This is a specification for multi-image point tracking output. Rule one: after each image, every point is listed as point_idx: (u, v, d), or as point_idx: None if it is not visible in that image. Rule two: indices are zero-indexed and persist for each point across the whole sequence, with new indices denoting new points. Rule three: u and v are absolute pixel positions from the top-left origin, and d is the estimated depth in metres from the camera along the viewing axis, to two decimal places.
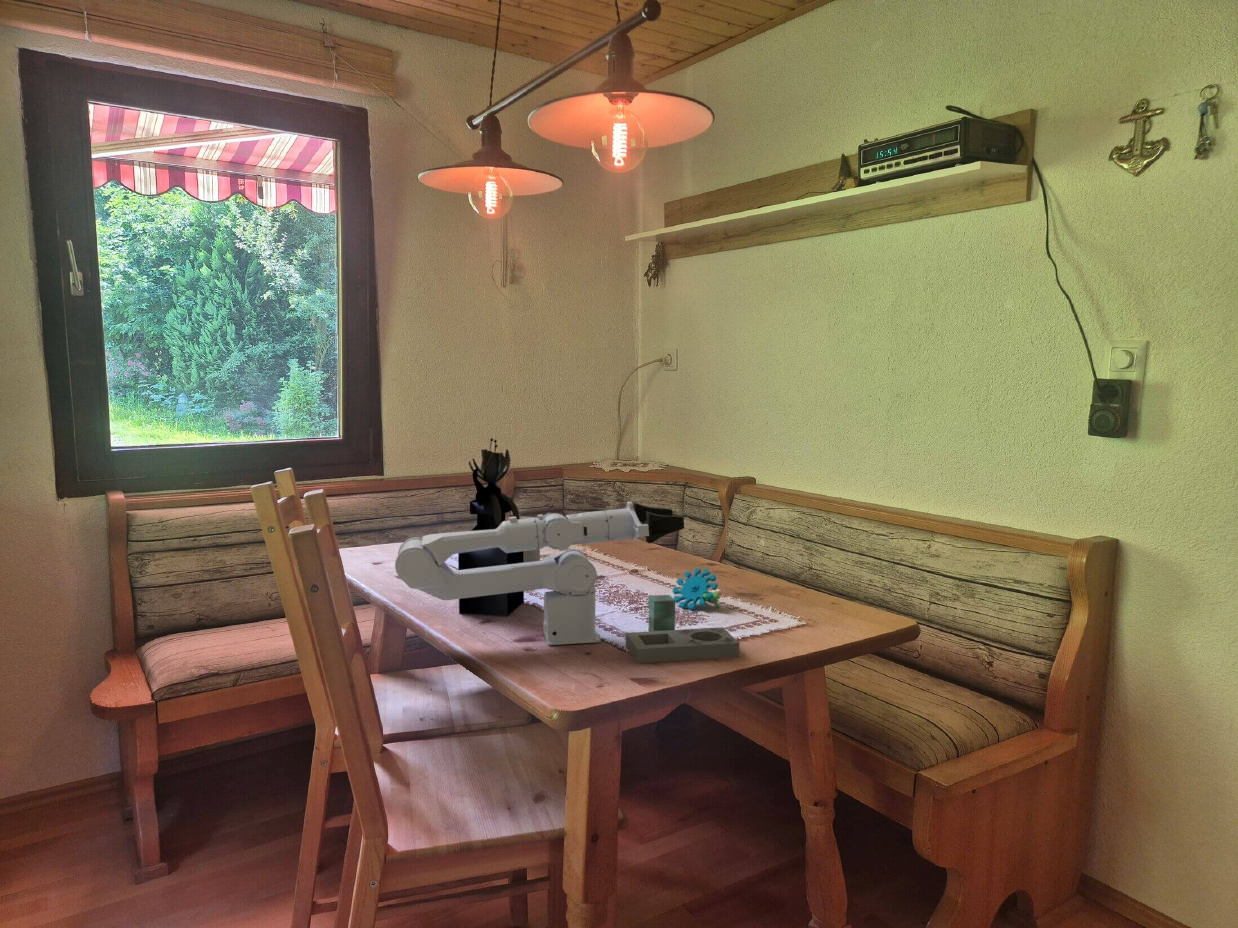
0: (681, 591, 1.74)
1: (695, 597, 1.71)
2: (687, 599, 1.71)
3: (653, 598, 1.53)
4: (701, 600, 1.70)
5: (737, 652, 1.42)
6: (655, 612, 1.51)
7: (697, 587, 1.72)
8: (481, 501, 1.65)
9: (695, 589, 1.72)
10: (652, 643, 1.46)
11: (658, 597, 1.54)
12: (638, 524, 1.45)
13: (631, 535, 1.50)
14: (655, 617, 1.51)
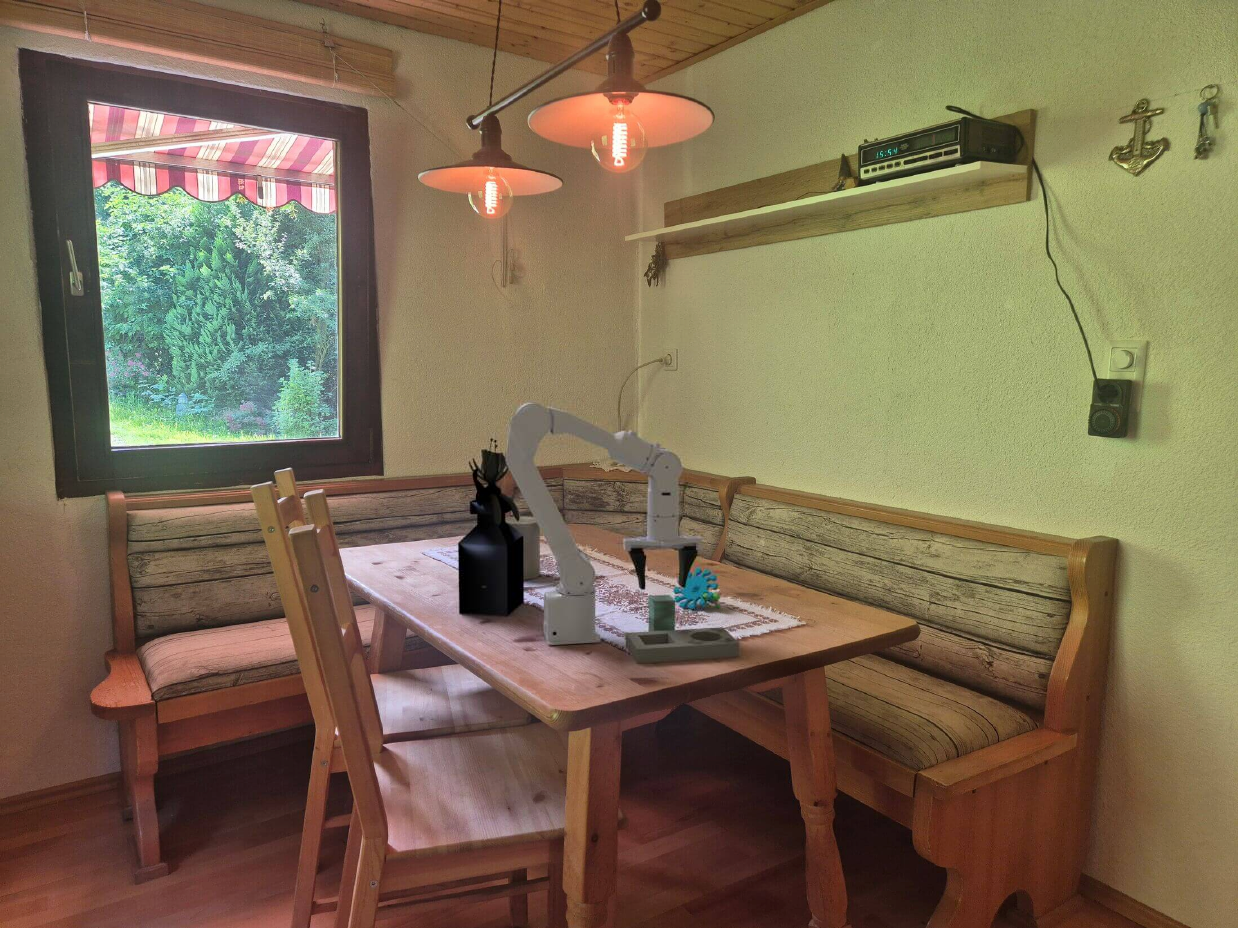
0: (682, 591, 1.74)
1: (695, 597, 1.71)
2: (688, 599, 1.71)
3: (653, 598, 1.53)
4: (701, 600, 1.70)
5: (737, 652, 1.42)
6: (655, 612, 1.51)
7: (698, 587, 1.72)
8: (481, 501, 1.65)
9: (696, 589, 1.72)
10: (652, 643, 1.46)
11: (658, 597, 1.54)
12: (630, 542, 1.50)
13: None
14: (655, 617, 1.51)
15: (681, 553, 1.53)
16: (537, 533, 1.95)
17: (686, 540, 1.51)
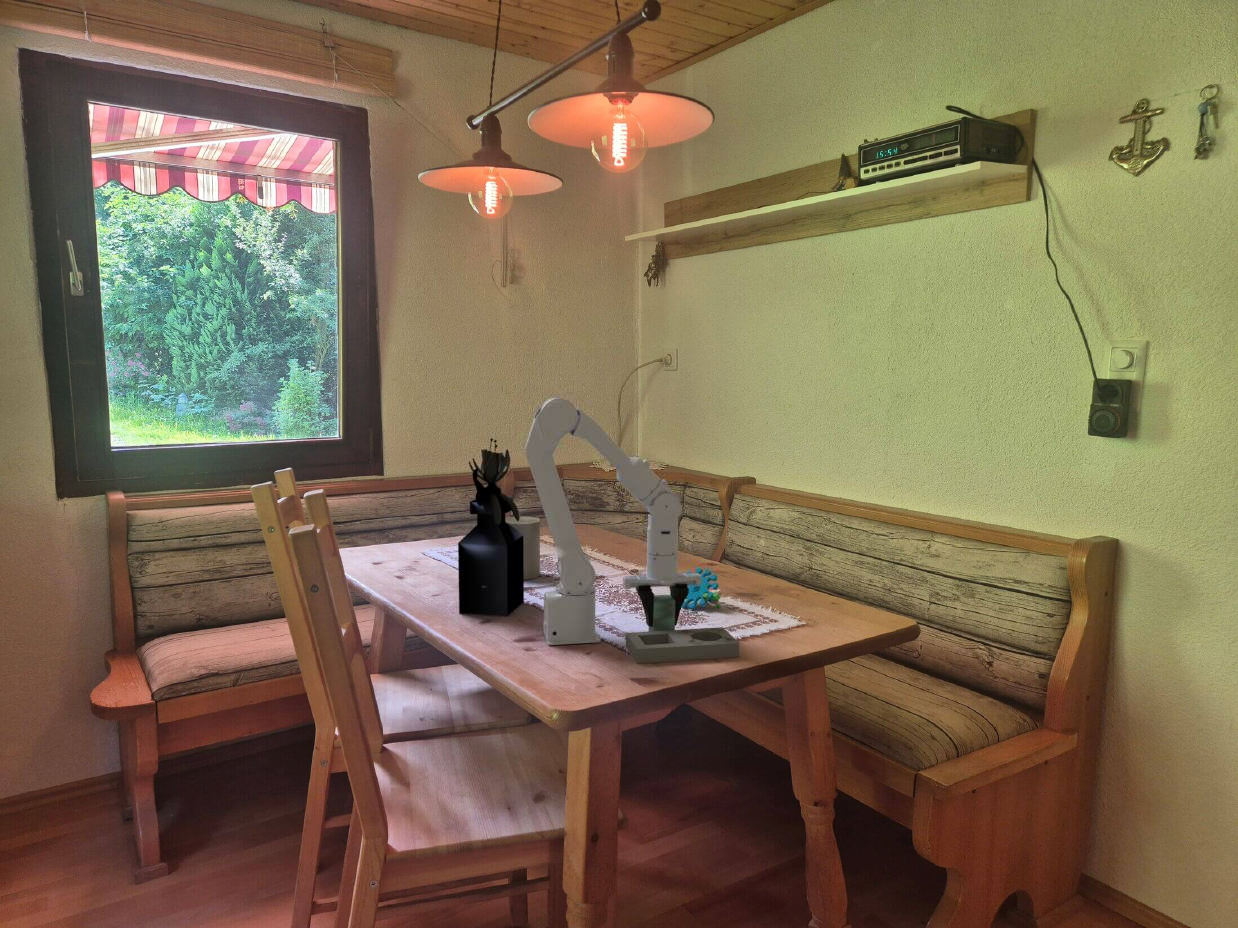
0: None
1: (695, 597, 1.71)
2: (688, 599, 1.72)
3: None
4: (701, 600, 1.70)
5: (737, 652, 1.42)
6: (655, 612, 1.51)
7: (698, 587, 1.72)
8: (481, 501, 1.65)
9: (696, 589, 1.72)
10: (652, 643, 1.46)
11: (658, 597, 1.54)
12: (629, 580, 1.51)
13: None
14: (655, 617, 1.51)
15: (672, 591, 1.54)
16: (537, 533, 1.95)
17: (685, 578, 1.52)
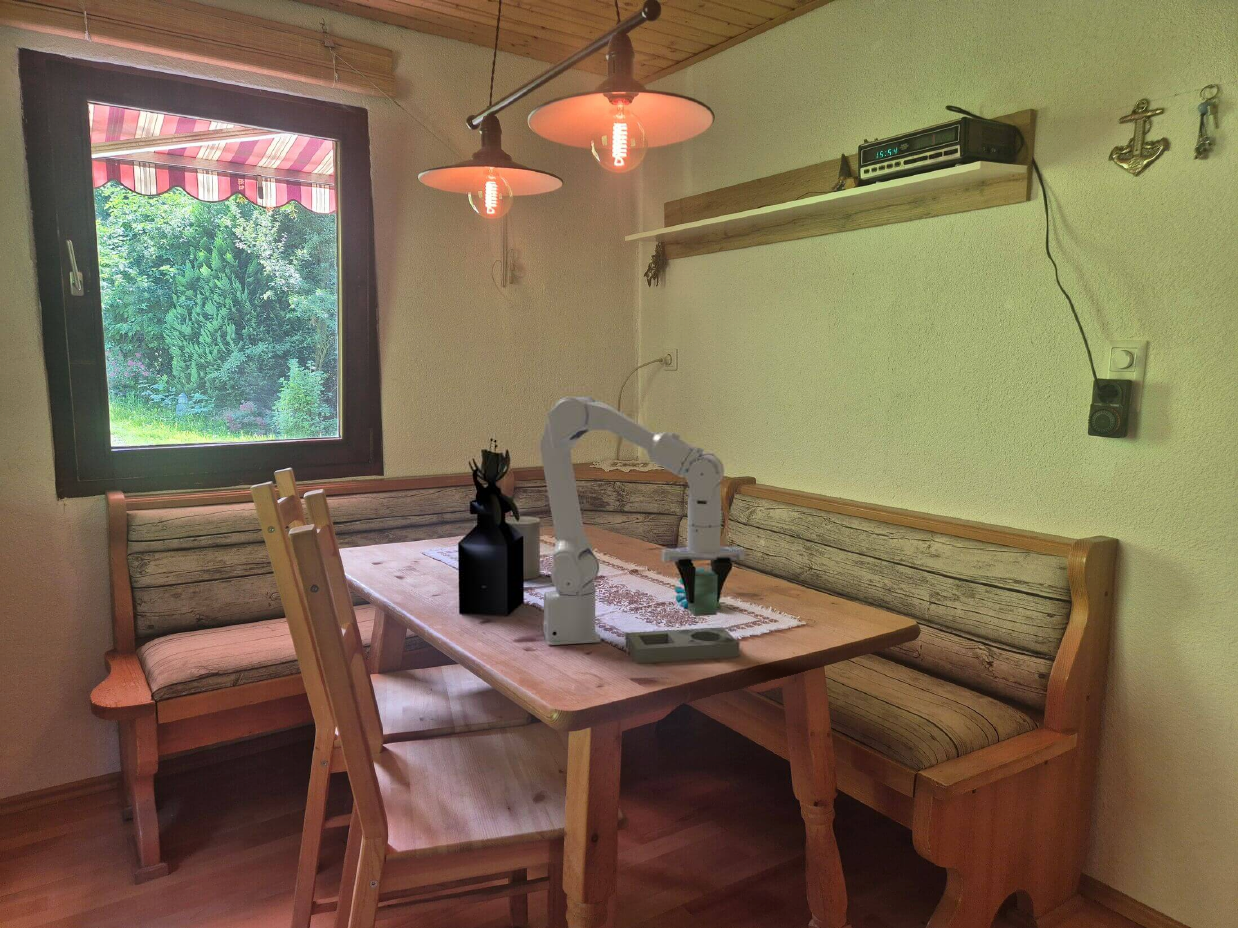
0: (683, 591, 1.74)
1: None
2: None
3: None
4: None
5: (737, 652, 1.42)
6: (696, 588, 1.42)
7: None
8: (481, 501, 1.65)
9: None
10: (652, 643, 1.46)
11: (699, 572, 1.44)
12: (669, 553, 1.41)
13: None
14: (696, 593, 1.42)
15: (714, 565, 1.44)
16: (537, 533, 1.95)
17: (729, 551, 1.43)
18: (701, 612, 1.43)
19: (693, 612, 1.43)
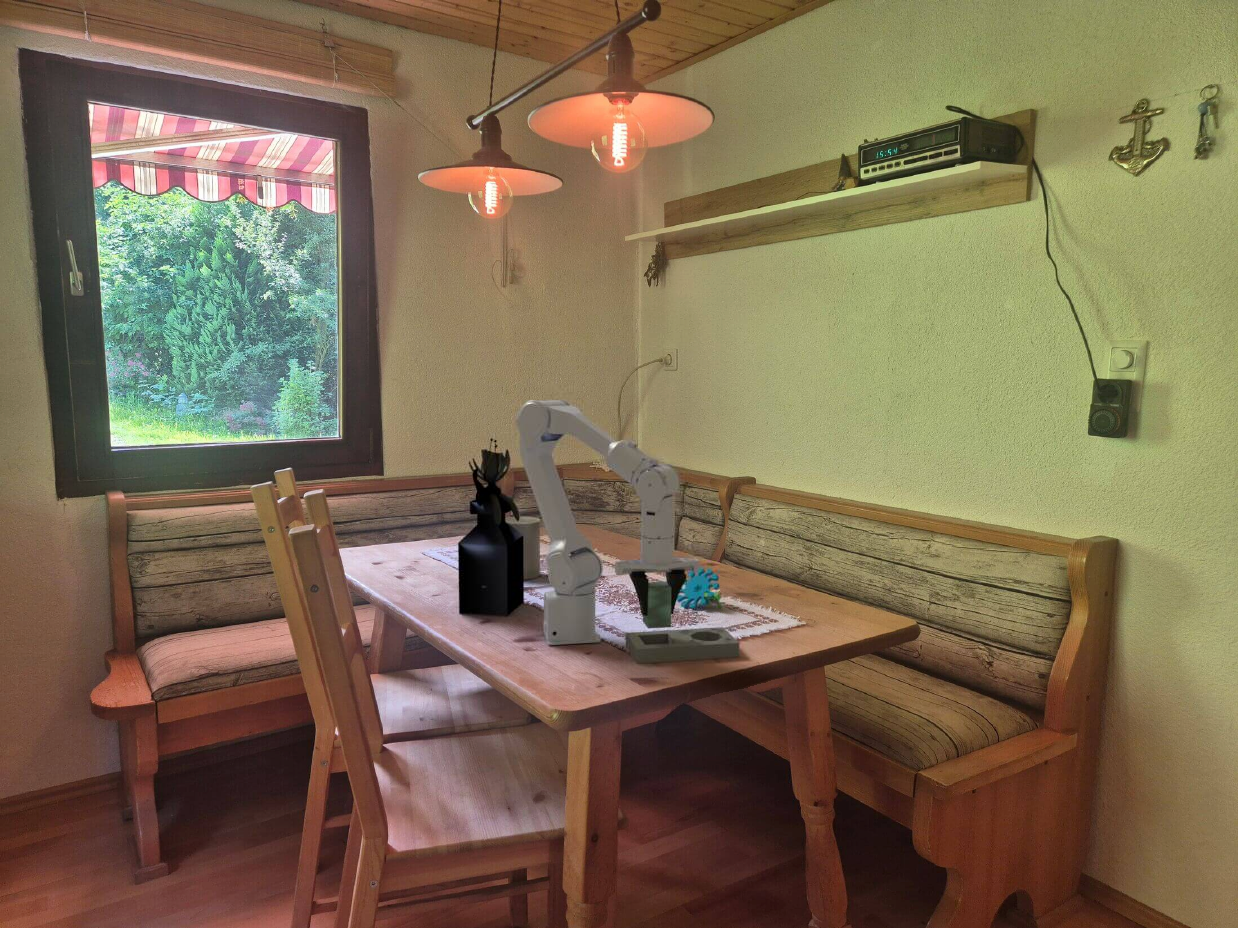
0: (684, 590, 1.74)
1: (696, 596, 1.71)
2: (689, 599, 1.72)
3: (648, 585, 1.42)
4: (702, 600, 1.70)
5: (737, 652, 1.42)
6: (650, 600, 1.40)
7: (699, 587, 1.72)
8: (481, 501, 1.65)
9: (697, 589, 1.72)
10: (652, 643, 1.46)
11: (653, 584, 1.43)
12: (622, 565, 1.40)
13: None
14: (650, 605, 1.41)
15: (669, 577, 1.43)
16: (537, 533, 1.95)
17: (683, 563, 1.41)
18: (655, 624, 1.41)
19: (647, 624, 1.41)
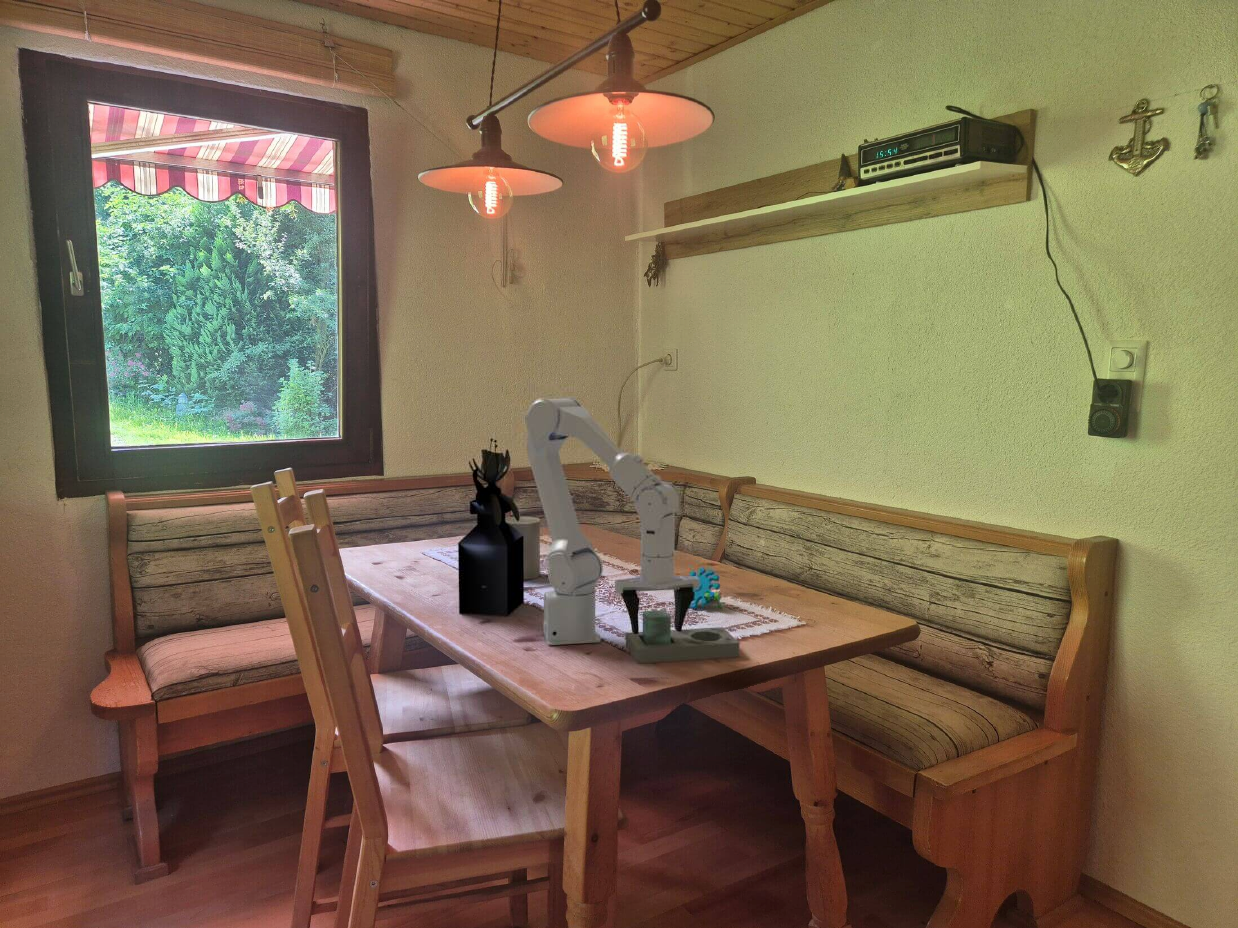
0: None
1: (697, 596, 1.71)
2: None
3: (647, 614, 1.43)
4: (702, 600, 1.70)
5: (737, 652, 1.42)
6: (649, 629, 1.41)
7: (700, 587, 1.73)
8: (481, 501, 1.65)
9: None
10: None
11: (653, 613, 1.43)
12: (622, 584, 1.40)
13: None
14: (649, 635, 1.41)
15: (677, 595, 1.44)
16: (537, 533, 1.95)
17: (682, 581, 1.41)
18: None
19: None
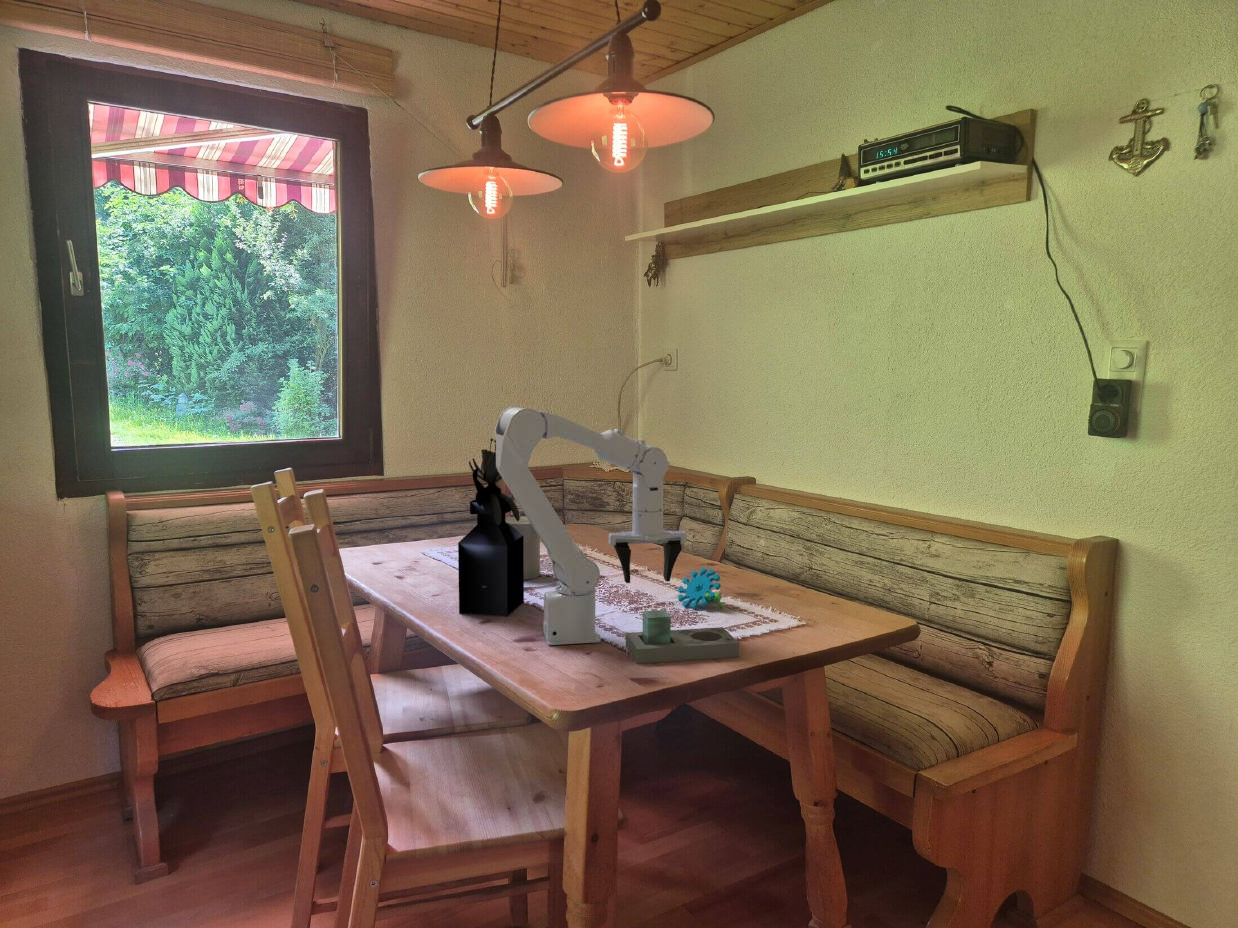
0: (685, 590, 1.75)
1: (697, 596, 1.71)
2: (690, 598, 1.72)
3: (647, 614, 1.43)
4: (703, 599, 1.70)
5: (737, 652, 1.42)
6: (649, 629, 1.41)
7: (701, 586, 1.73)
8: (481, 501, 1.65)
9: (698, 588, 1.73)
10: None
11: (653, 613, 1.43)
12: (615, 536, 1.53)
13: None
14: (649, 635, 1.41)
15: (666, 547, 1.56)
16: None
17: (670, 535, 1.54)
18: None
19: None
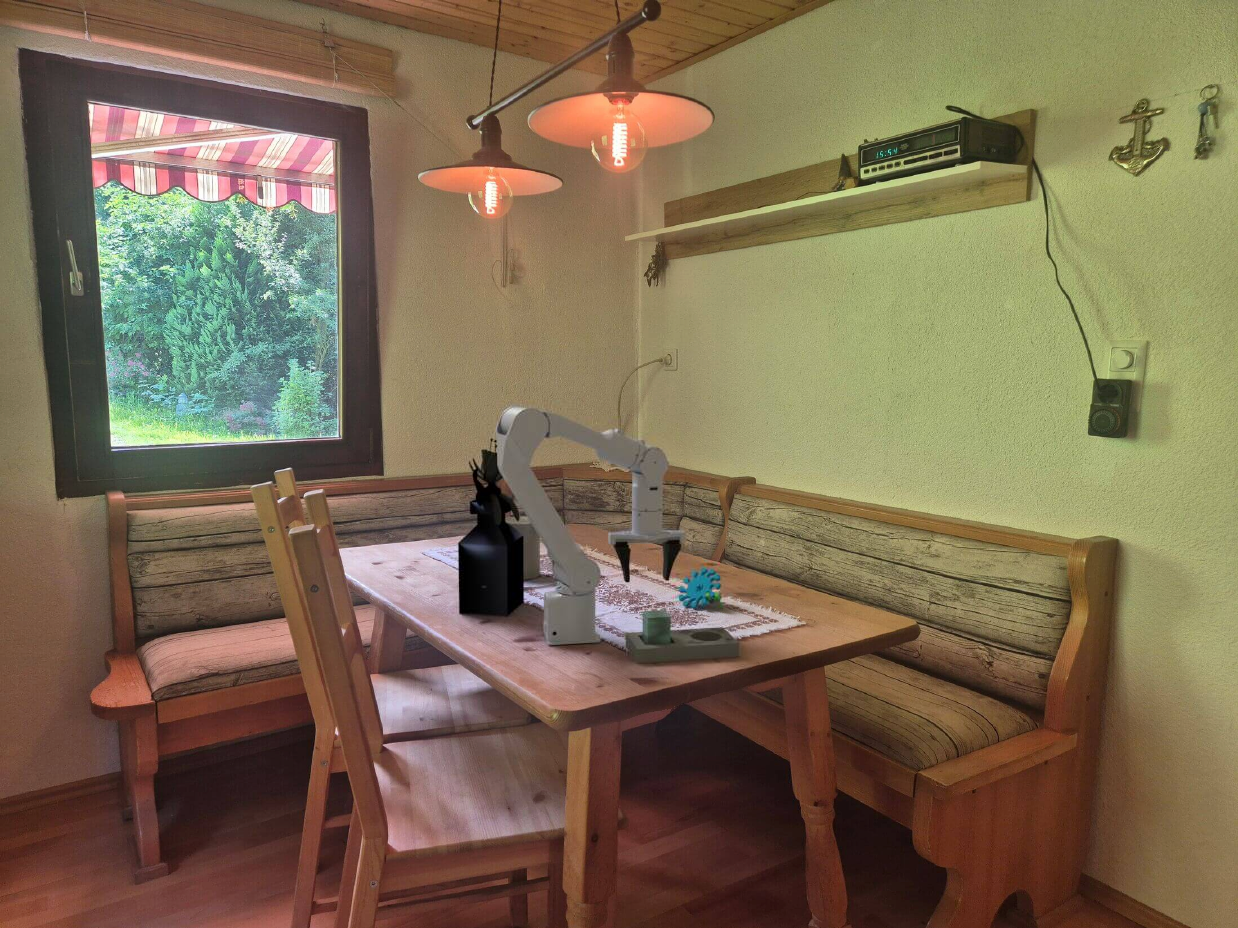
0: (686, 590, 1.75)
1: (698, 596, 1.71)
2: (691, 598, 1.72)
3: (647, 614, 1.43)
4: (703, 599, 1.70)
5: (737, 652, 1.42)
6: (649, 629, 1.41)
7: (701, 586, 1.73)
8: (481, 501, 1.65)
9: (699, 588, 1.73)
10: None
11: (652, 613, 1.43)
12: (615, 536, 1.53)
13: None
14: (649, 635, 1.41)
15: (665, 547, 1.57)
16: (537, 533, 1.95)
17: (670, 534, 1.55)
18: None
19: None
